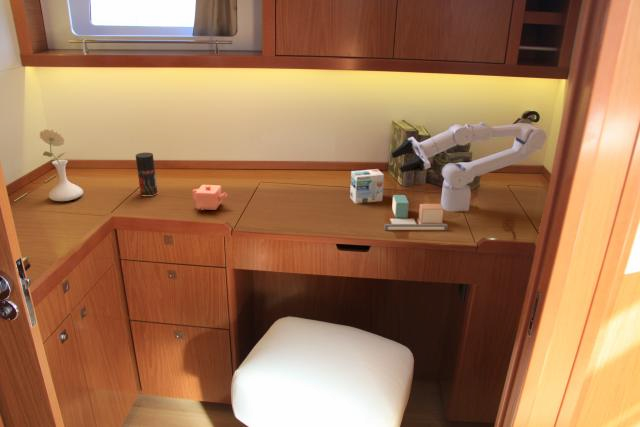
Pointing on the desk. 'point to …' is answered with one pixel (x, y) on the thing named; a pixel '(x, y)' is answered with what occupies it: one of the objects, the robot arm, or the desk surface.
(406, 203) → the teal box
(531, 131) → the robot arm
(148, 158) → the deodorant
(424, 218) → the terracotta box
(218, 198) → the pink cube teapot
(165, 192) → the desk surface
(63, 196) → the flower in vase
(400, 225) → the shelf board
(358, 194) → the light bulb box
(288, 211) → the desk surface
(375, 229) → the desk surface
